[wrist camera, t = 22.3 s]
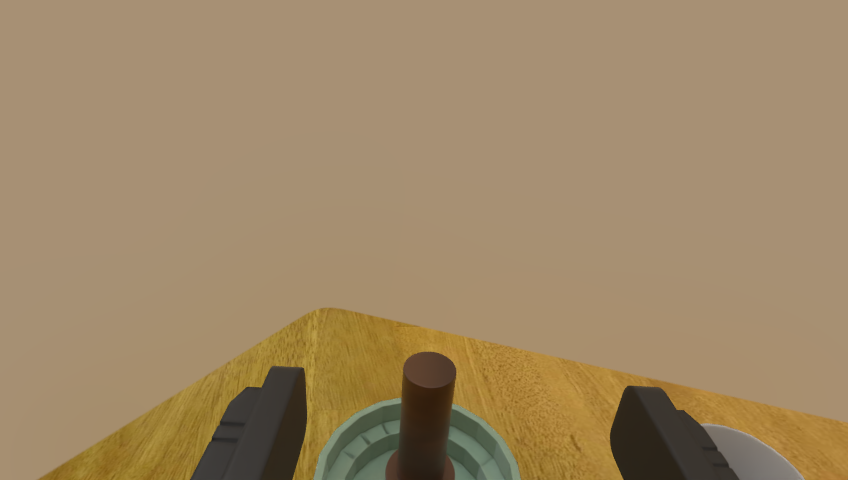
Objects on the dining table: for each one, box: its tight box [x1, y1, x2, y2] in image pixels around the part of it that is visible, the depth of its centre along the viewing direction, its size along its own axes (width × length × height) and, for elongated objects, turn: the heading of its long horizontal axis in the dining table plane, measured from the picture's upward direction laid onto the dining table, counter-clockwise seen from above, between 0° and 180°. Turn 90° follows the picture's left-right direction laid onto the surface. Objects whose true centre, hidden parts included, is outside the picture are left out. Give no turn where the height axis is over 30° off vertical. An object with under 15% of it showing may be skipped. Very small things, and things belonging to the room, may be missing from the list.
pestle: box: [385, 352, 456, 480], centre depth 30 cm, size 5×5×13 cm
